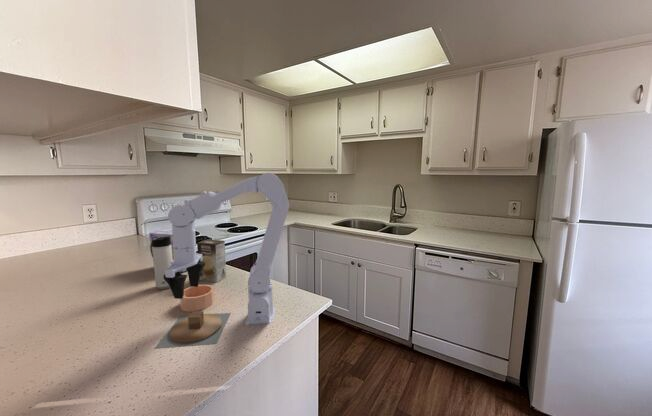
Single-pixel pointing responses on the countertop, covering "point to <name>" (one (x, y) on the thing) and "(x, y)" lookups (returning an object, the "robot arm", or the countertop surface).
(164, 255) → the travel mug
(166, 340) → the mat
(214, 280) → the coffee box
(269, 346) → the countertop surface
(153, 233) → the cake pan box
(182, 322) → the lid
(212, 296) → the bowl
